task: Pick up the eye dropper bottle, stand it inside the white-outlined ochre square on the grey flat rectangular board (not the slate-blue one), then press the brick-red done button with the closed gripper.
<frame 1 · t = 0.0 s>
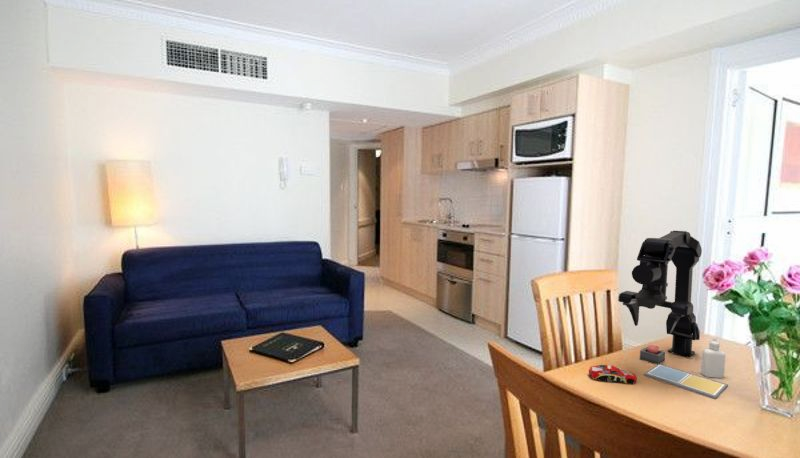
hand: (652, 329, 122), 15 cm above the table, tool pointing down, fingers open, 9 cm apart
eye dropper bottle: (711, 376, 123), on the table
done button housing: (652, 359, 134), on the table
grey flat rectangular board: (684, 380, 119), on the table
done button: (652, 349, 134), point 4 cm above the table, slide at 0.0 cm
race car: (612, 380, 121), on the table
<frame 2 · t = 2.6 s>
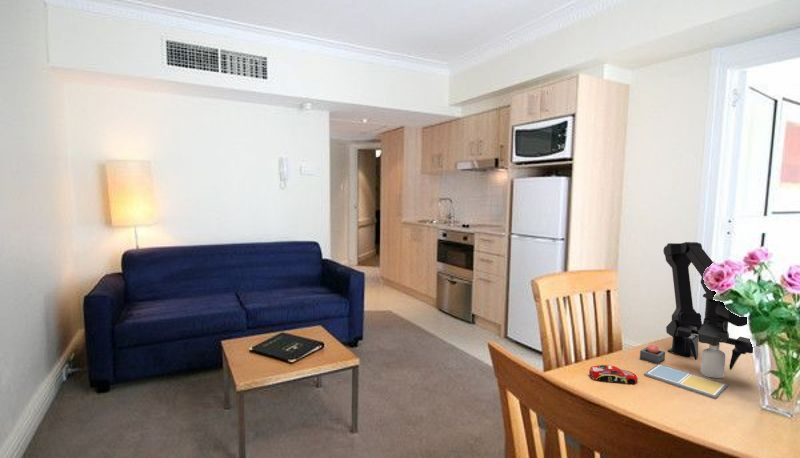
hand: (712, 364, 123), 4 cm above the table, tool pointing down, fingers closed on eye dropper bottle, 8 cm apart
eye dropper bottle: (712, 376, 123), on the table, touching gripper
everything else where it was.
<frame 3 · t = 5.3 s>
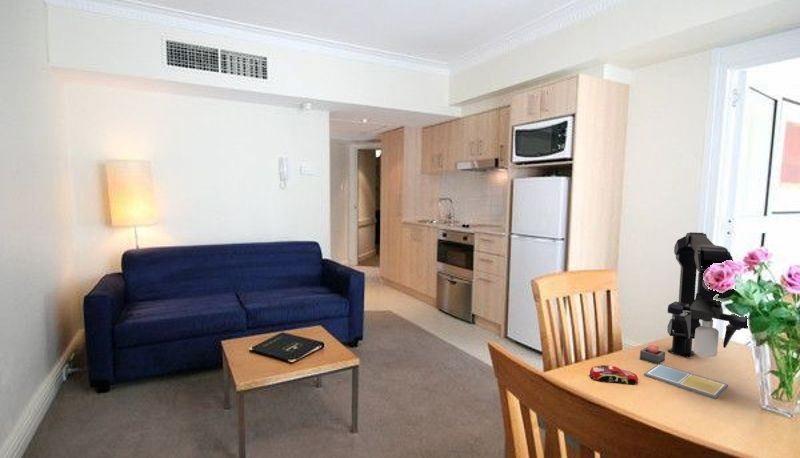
hand: (705, 342, 115), 13 cm above the table, tool pointing down, fingers closed on eye dropper bottle, 8 cm apart
eye dropper bottle: (705, 355, 115), point 9 cm above the table, touching gripper
everything else where it was.
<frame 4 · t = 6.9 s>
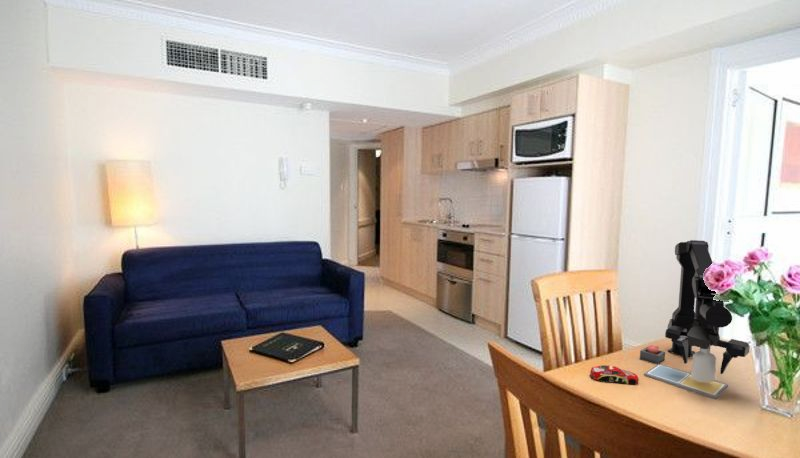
hand: (703, 368, 116), 5 cm above the table, tool pointing down, fingers closed on eye dropper bottle, 8 cm apart
eye dropper bottle: (702, 380, 116), point 2 cm above the table, touching gripper
everything else where it was.
when the fingers open (5 cm above the table, at t = 8.1 s): eye dropper bottle drops 1 cm, resting on grey flat rectangular board.
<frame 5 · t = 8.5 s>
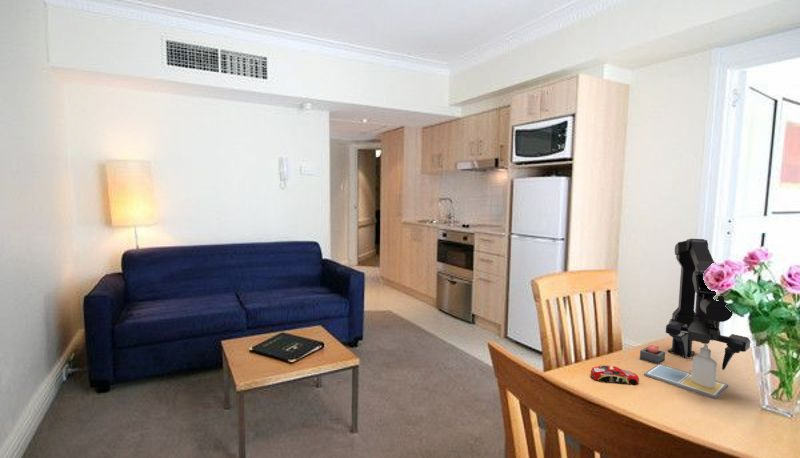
hand: (703, 363, 115), 7 cm above the table, tool pointing down, fingers open, 9 cm apart
eye dropper bottle: (702, 384, 116), point 1 cm above the table, touching grey flat rectangular board
everything else where it was.
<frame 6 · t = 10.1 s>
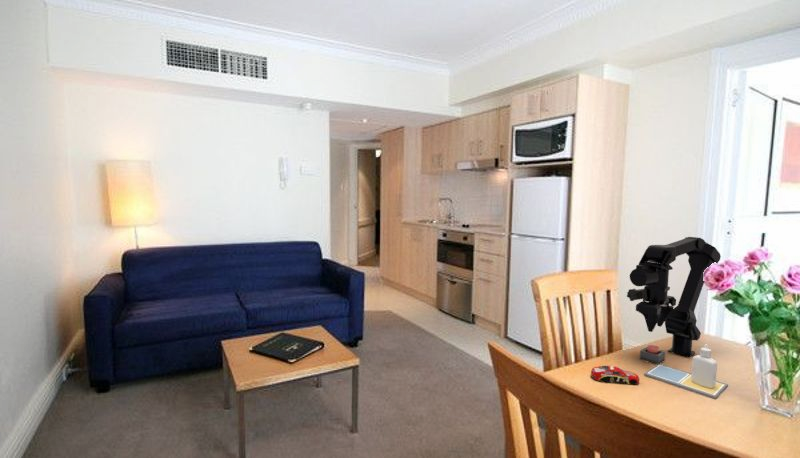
hand: (654, 328, 133), 11 cm above the table, tool pointing down, fingers open, 8 cm apart
nothing on the table moved.
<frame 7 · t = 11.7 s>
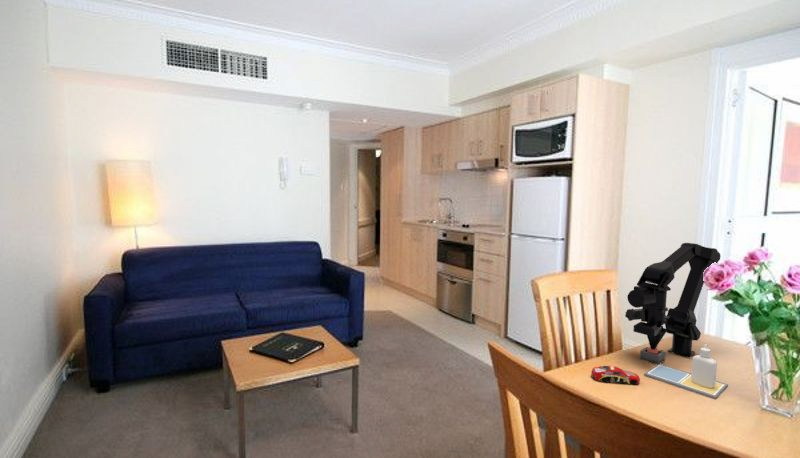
hand: (652, 349, 134), 4 cm above the table, tool pointing down, fingers closed, pressing on done button
done button: (652, 351, 134), point 3 cm above the table, slide at 0.8 cm, touching gripper
everything else where it was.
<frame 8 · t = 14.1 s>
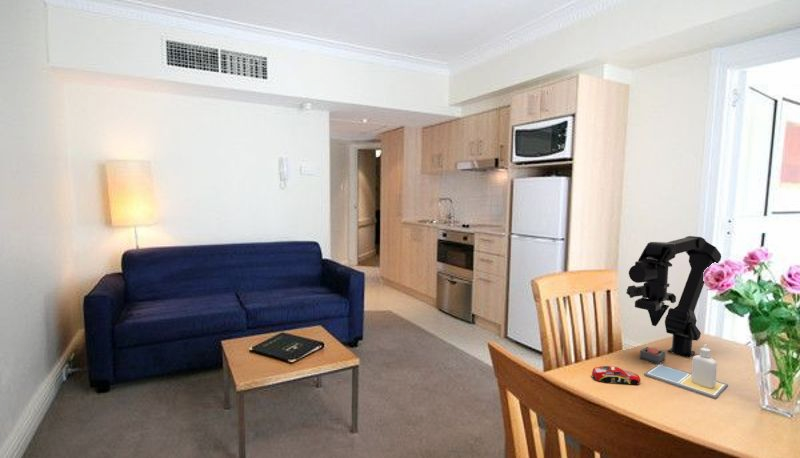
hand: (654, 325, 133), 12 cm above the table, tool pointing down, fingers closed
done button: (652, 352, 134), point 3 cm above the table, slide at 0.9 cm
at the end: eye dropper bottle 0.2 cm from the target spot on the grey flat rectangular board, point 0.5 cm above the grey flat rectangular board's base; eye dropper bottle tilted 0°; done button slide at 0.9 cm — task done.
